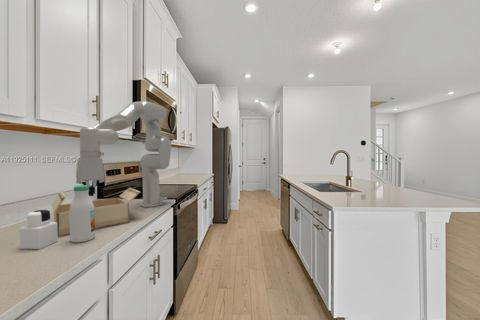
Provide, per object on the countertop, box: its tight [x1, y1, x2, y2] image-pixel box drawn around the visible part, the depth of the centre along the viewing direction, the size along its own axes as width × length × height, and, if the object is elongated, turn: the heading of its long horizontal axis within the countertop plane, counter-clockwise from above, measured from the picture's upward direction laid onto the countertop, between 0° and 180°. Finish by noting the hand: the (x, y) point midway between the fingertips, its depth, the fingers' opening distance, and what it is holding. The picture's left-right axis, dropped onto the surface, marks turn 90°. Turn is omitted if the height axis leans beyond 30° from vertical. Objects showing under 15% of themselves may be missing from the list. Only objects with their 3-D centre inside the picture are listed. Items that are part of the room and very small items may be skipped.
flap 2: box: [118, 187, 141, 203], centre depth 112 cm, size 1×17×6 cm
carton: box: [53, 197, 130, 237], centre depth 102 cm, size 26×20×9 cm
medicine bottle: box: [19, 209, 59, 250], centre depth 79 cm, size 7×7×12 cm
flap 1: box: [51, 191, 66, 213], centre depth 94 cm, size 1×17×6 cm, turn 43°
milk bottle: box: [69, 184, 96, 244], centre depth 84 cm, size 8×8×20 cm
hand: (90, 195), depth 101 cm, fingers closed
